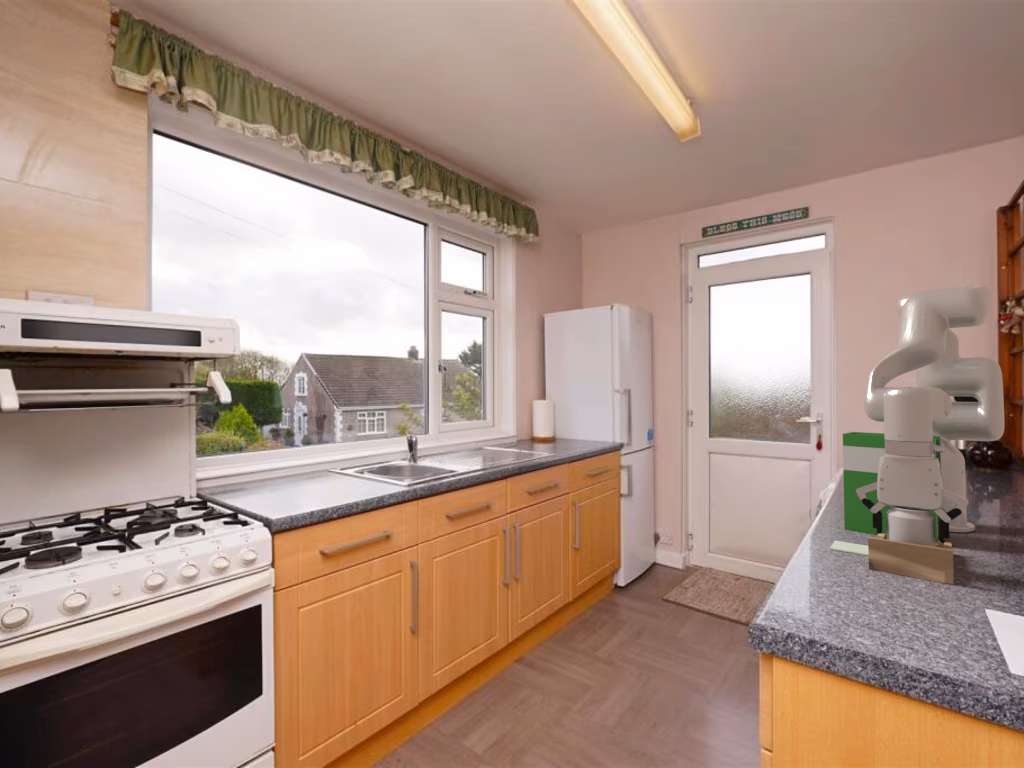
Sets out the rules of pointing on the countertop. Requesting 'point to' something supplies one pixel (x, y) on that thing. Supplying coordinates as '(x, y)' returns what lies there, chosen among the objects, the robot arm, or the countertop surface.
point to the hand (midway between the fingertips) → (909, 536)
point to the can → (910, 526)
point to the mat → (850, 548)
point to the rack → (911, 559)
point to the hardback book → (866, 479)
